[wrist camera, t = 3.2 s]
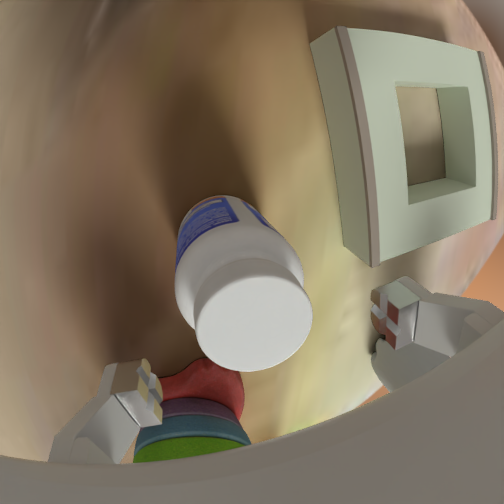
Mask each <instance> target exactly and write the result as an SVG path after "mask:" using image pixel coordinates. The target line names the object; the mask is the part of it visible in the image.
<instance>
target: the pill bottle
mask: <svg viewBox="0 0 504 504" xmlns="http://www.w3.org/2000/svg"><path fill="white" fill-rule="evenodd" d="M303 286H304V274H303V269H302V265H301V262H300V260H299V257H298V256H297V254H296V252H295V250H294V249H293V248H292V246H291V245H290V244H289V243H288V242H287V241H286V240H285V239H284V237H283V236H282V235H281V234H280V233H279V232H278V231H277V230H276V229H275V228H274V227H273V226H272V225H271V224H270V223H269V222H268V221H267V220H266V219H265V218H264V217H263V216H262V215H261V214H260V213H259V212H258V211H257V210H256V209H255V208H254V207H253V206H251V205H250V204H249V203H247V202H246V201H244V200H242V199H239V198H237V197H233V196H227V195H219V196H213V197H209V198H206V199H204V200H202V201H200V202H199V203H197V204H196V205H195V206H193V207H192V208H191V209H190V210H189V212H188V213H187V214H186V216H185V217H184V219H183V221H182V223H181V225H180V229H179V233H178V241H177V255H176V269H175V296H176V301H177V305H178V307H179V310H180V312H181V314H182V315H183V317H184V318H185V320H186V321H187V323H188V324H189V325H190V326H191V327H192V328H193V329H195V332H196V337H197V340H198V343H199V345H200V347H201V349H202V351H203V352H204V353H205V354H206V356H207V357H208V358H210V359H211V360H212V361H213V362H215V363H216V364H218V365H220V366H222V367H225V368H227V369H230V370H235V371H245V372H251V371H258V370H263V369H267V368H270V367H273V366H275V365H277V364H279V363H281V362H283V361H284V360H286V359H288V358H289V357H290V356H291V355H293V354H294V353H295V352H296V351H297V350H298V349H299V348H300V346H301V345H302V344H303V343H304V341H305V339H306V338H307V336H308V334H309V331H310V328H311V325H312V318H313V313H312V306H311V302H310V300H309V297H308V295H307V294H306V292H305V291H304V289H303Z"/></svg>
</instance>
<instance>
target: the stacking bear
mask: <svg viewBox="0 0 504 504" xmlns="http://www.w3.org/2000/svg"><path fill="white" fill-rule="evenodd" d="M158 379H159V382H160V384H161V387H162V392H163V400H162V402H161V403H160V404H159V405H160V407H161V408H162V424H160V425H154V426H148V427H142V428H140V431H139V435H138V437H137V441H136V445H135V451H134V459H133V463H143V462H154V461H164V460H172V459H180V458H187V457H193V456H199V455H205V454H210V453H216V452H221V451H225V450H230V449H234V448H239V447H243V446H247V445H251V442H250V440H249V438H248V436H247V434H246V432H245V431H244V430H243V428H242V426H241V424H240V422H239V419H240V417H241V414H242V411H243V407H244V388H243V383H242V379H241V377H240V374H239V372H238V371H235V370H230V369H227V368H225V367H222V366H220V365H218V364H216V363H215V362H213V361H212V360H211V359H210V358H203V359H199V360H196V361H194V362H193V363H191V364H190V365H189V366H188V367H187V368H186V369H185V370H183V371H182V372H180V373H178V374H176V375H174V376H170V377H165V378H158Z"/></svg>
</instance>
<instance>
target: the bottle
mask: <svg viewBox="0 0 504 504" xmlns="http://www.w3.org/2000/svg"><path fill="white" fill-rule="evenodd" d="M449 358H450V357H449V356H448V355H445V354H442V353H440V352H437V351H434V350H432V349H429V348H426V347H424V346H421V345H419V344H416V343H414V342H412V343H410V344H408V345H406V346H404V347H402V348H400V349H397V350H394V349H393V348H392V347H391V345H390V344H389V343H388V342H387V341H384V340H383V339H381V338H380V339H378V341H377V342H376V352H374V353H373V354H372V357H371V363H372V367H373V369H374V371H375V373H376V375H377V376H378V378H379V380H380V381H381V382H382V383H383V385H384V386H385V387H386V388H387V389H388V391H389V392H392V391H394V390H396V389H398V388H400V387H402V386H403V385H405V384H407V383H409V382H411V381H413V380H414V379H416V378H418V377H420V376H421V375H423V374H425V373H427V372H428V371H430V370H432V369H433V368H435V367H437V366H438V365H440V364H441V363H443V362H445V361H446V360H448V359H449Z"/></svg>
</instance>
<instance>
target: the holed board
mask: <svg viewBox="0 0 504 504" xmlns="http://www.w3.org/2000/svg"><path fill="white" fill-rule="evenodd" d="M310 48H311V52H312V56H313V60H314V64H315V68H316V72H317V77H318V81H319V86H320V90H321V95H322V100H323V104H324V109H325V114H326V120H327V125H328V131H329V136H330V142H331V148H332V154H333V160H334V167H335V174H336V181H337V189H338V196H339V205H340V213H341V223H342V232H343V243H344V247H346V248H347V249H348V250H350V251H351V252H352V253H354V254H355V255H356V256H357V257H359V258H360V259H361V260H363V261H364V262H365V263H366V264H368V265H369V266H370V267H371V268H373V267H376V266H379V265H380V262H382V261H385V260H388V259H391V258H393V257H396V256H399V255H401V254H404V253H407V252H410V251H412V250H415V249H418V248H420V247H423V246H425V245H428V244H431V243H433V242H436V241H438V240H441V239H443V238H446V237H449V236H451V235H454V234H456V233H459V232H461V231H463V230H466V229H468V228H471V227H473V226H476V225H478V224H480V223H483V222H485V221H487V220H490V219H491V220H495V219H496V213H497V196H498V150H497V133H496V122H495V113H494V105H493V98H492V91H491V85H490V80H489V75H488V70H487V65H486V61H485V56H484V52H481V51H474V50H471V49H468V48H464V47H461V46H457V45H453V44H450V43H446V42H441V41H437V40H433V39H428V38H423V37H418V36H413V35H407V34H401V33H394V32H386V31H378V30H368V29H355V28H347V27H346V26H336V27H334V28H332V29H331V30H329V31H328V32H326V33H325V34H323V35H322V36H320V37H319V38H317V39H316V40H314V41H313V42H311V43H310ZM395 86H403V87H427V88H436V89H437V95H438V101H439V107H440V114H441V122H442V130H443V140H444V152H445V169H446V178H443V179H438V180H434V181H429V182H425V183H420V184H416V185H412V186H407V171H406V159H405V149H404V140H403V132H402V125H401V118H400V112H399V106H398V100H397V94H396V89H395Z"/></svg>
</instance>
